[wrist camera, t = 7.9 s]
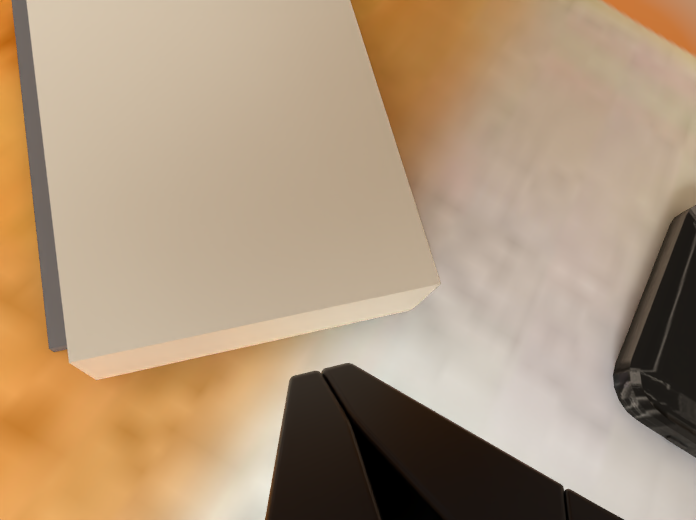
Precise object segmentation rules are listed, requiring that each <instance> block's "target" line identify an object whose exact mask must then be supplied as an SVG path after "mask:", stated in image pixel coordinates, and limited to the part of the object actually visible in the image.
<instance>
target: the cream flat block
mask: <svg viewBox="0 0 696 520" xmlns="http://www.w3.org/2000/svg"><path fill="white" fill-rule="evenodd" d="M26 2H27V10H28V19H29V27H30V36H31V44H32V53H33V61H34V70H35V78H36V87H37V95H38V104H39V112H40V121H41V129H42V138H43V146H44V155H45V163H46V172H47V180H48V188H49V197H50V205H51V214H52V222H53V231H54V239H55V248H56V256H57V265H58V273H59V282H60V290H61V299H62V307H63V316H64V324H65V333H66V341H67V350H68V358H69V363H70V364H72V365H73V366H75V367H77V368H78V369H80V370H81V371H83V372H84V373H86V374H88V375H89V376H91V377H92V378H94V379H95V380H99V379H104V378H108V377H113V376H117V375H122V374H126V373H131V372H135V371H140V370H144V369H149V368H153V367H158V366H162V365H167V364H171V363H176V362H180V361H185V360H189V359H194V358H198V357H203V356H207V355H212V354H216V353H221V352H225V351H230V350H234V349H239V348H243V347H248V346H252V345H257V344H261V343H266V342H270V341H275V340H279V339H284V338H288V337H293V336H297V335H302V334H306V333H311V332H315V331H320V330H324V329H329V328H333V327H338V326H342V325H347V324H351V323H356V322H360V321H365V320H369V319H374V318H378V317H383V316H387V315H392V314H396V313H401V312H405V311H410V310H412V309H413V308H414V307H416V306H417V305H418V304H419V303H420V302H421V301H422V300H423V299H425V298H426V297H427V296H428V295H429V294H430V293H431V292H432V291H433V290H435V289H436V288H437V287H438V286H439V285H440V284H441V282H440V279H439V276H438V273H437V269H436V266H435V263H434V260H433V257H432V254H431V251H430V248H429V244H428V241H427V238H426V235H425V232H424V229H423V226H422V223H421V220H420V216H419V213H418V210H417V207H416V204H415V201H414V198H413V195H412V191H411V188H410V185H409V182H408V179H407V176H406V173H405V170H404V167H403V163H402V160H401V157H400V154H399V151H398V148H397V145H396V142H395V138H394V135H393V132H392V129H391V126H390V123H389V120H388V117H387V114H386V110H385V107H384V104H383V101H382V98H381V95H380V92H379V89H378V85H377V82H376V79H375V76H374V73H373V70H372V67H371V64H370V61H369V57H368V54H367V51H366V48H365V45H364V42H363V39H362V36H361V32H360V29H359V26H358V23H357V20H356V17H355V14H354V11H353V8H352V4H351V1H350V0H26Z"/></svg>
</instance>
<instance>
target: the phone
mask: <svg viewBox="0 0 696 520" xmlns="http://www.w3.org/2000/svg"><path fill="white" fill-rule="evenodd" d="M613 378H614V388H615V391H616V393H617V396H618V399H619V401H620V402H621V404H622V405H623V407H624V408H625V409H626V411H627V412H628V413H629V414H631V415H632V416H633V417H634V418H635V419H636V420H638V421H639V422H641V423H643V424H644V425H646V426H647V427H649V428H650V429H652V430H653V431H655V432H657V433H658V434H660V435H661V436H663V437H664V438H666V439H667V440H669V441H670V442H672V443H673V444H675V445H676V446H678V447H680V448H681V449H683V450H685V451H686V452H688V453H689V454H691V455H693V456H694V457H696V205H695V206H693V207H692V208H690V209H688V210H686V211H685V212H683V213H681V214H680V215H678V216H677V217H675V218H674V220H673V221H672V223H671V224H670V226H669V229H668V231H667V234H666V236H665V239H664V241H663V244H662V247H661V249H660V252H659V254H658V257H657V259H656V262H655V264H654V267H653V269H652V272H651V275H650V277H649V280H648V282H647V285H646V287H645V290H644V292H643V295H642V297H641V300H640V303H639V305H638V308H637V310H636V313H635V315H634V318H633V320H632V323H631V326H630V328H629V331H628V333H627V336H626V338H625V341H624V343H623V346H622V348H621V351H620V354H619V356H618V359H617V361H616V364H615V369H614V373H613Z"/></svg>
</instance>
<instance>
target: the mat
mask: <svg viewBox="0 0 696 520" xmlns="http://www.w3.org/2000/svg"><path fill="white" fill-rule="evenodd" d="M12 8H13V17H14V26H15V36H16V45H17V54H18V64H19V73H20V82H21V92H22V101H23V110H24V120H25V129H26V138H27V148H28V157H29V166H30V176H31V185H32V194H33V204H34V213H35V222H36V231H37V241H38V250H39V259H40V269H41V278H42V287H43V297H44V306H45V315H46V325H47V334H48V343H49V349H50V350H52V351H53V352H56V351H61V350H65V349H67V341H66V333H65V324H64V316H63V307H62V299H61V290H60V282H59V273H58V265H57V256H56V248H55V239H54V231H53V222H52V214H51V205H50V197H49V188H48V180H47V172H46V163H45V155H44V146H43V138H42V129H41V121H40V112H39V104H38V95H37V87H36V78H35V70H34V61H33V53H32V44H31V36H30V27H29V19H28V10H27V2H26V0H12Z"/></svg>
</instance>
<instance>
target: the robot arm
mask: <svg viewBox="0 0 696 520" xmlns="http://www.w3.org/2000/svg"><path fill="white" fill-rule="evenodd" d="M265 520H624V519H622V518H620V517H618V516H616V515H614V514H613V513H611V512H609V511H607V510H605V509H604V508H602V507H600V506H598V505H596V504H595V503H593V502H591V501H589V500H588V499H586V498H584V497H583V496H581V495H579V494H577V493H576V492H574V491H572V490H570V489H566V490H565V491H564V489H563V486H562V485H561V484H560V483H558V482H556V481H554V480H553V479H551V478H549V477H547V476H546V475H544V474H542V473H540V472H539V471H537V470H535V469H534V468H532V467H530V466H528V465H527V464H525V463H523V462H521V461H520V460H518V459H516V458H514V457H513V456H511V455H509V454H508V453H506V452H504V451H502V450H501V449H499V448H497V447H495V446H494V445H492V444H490V443H488V442H487V441H485V440H483V439H482V438H480V437H478V436H476V435H475V434H473V433H471V432H469V431H468V430H466V429H464V428H462V427H461V426H459V425H457V424H456V423H454V422H452V421H450V420H449V419H447V418H445V417H443V416H442V415H440V414H438V413H436V412H435V411H433V410H431V409H430V408H428V407H426V406H424V405H423V404H421V403H419V402H417V401H416V400H414V399H412V398H410V397H409V396H407V395H405V394H404V393H402V392H400V391H398V390H397V389H395V388H393V387H391V386H390V385H388V384H386V383H384V382H383V381H381V380H379V379H378V378H376V377H374V376H372V375H371V374H369V373H367V372H365V371H364V370H362V369H360V368H358V367H357V366H355V365H353V364H350V363H345V364H341V365H337V366H333V367H329V368H325V369H324V370H323V371H322V373H320V372H319V371H312V372H308V373H304V374H300V375H295V376H293V377H291V379H290V381H289V386H288V392H287V397H286V403H285V409H284V415H283V420H282V426H281V432H280V437H279V443H278V449H277V455H276V460H275V466H274V472H273V478H272V483H271V489H270V495H269V500H268V506H267V512H266V518H265Z"/></svg>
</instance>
